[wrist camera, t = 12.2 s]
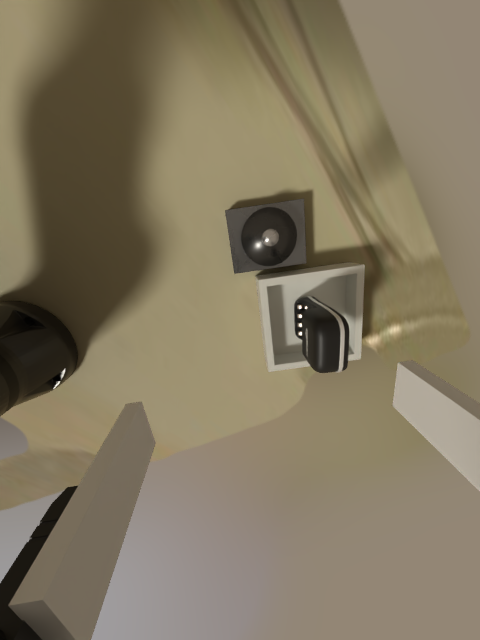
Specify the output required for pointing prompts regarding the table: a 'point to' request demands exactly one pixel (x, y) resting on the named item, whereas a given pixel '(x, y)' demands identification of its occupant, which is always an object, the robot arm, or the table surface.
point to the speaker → (267, 236)
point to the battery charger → (322, 335)
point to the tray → (320, 282)
